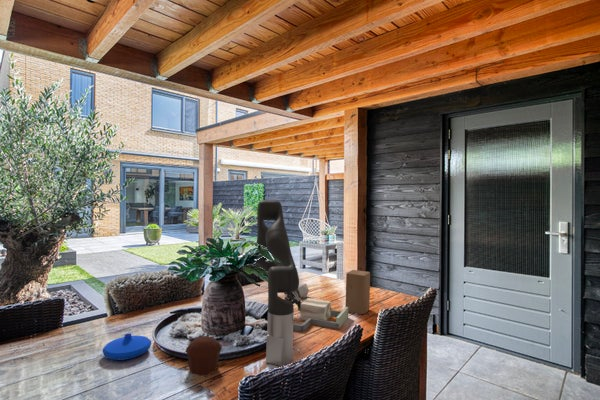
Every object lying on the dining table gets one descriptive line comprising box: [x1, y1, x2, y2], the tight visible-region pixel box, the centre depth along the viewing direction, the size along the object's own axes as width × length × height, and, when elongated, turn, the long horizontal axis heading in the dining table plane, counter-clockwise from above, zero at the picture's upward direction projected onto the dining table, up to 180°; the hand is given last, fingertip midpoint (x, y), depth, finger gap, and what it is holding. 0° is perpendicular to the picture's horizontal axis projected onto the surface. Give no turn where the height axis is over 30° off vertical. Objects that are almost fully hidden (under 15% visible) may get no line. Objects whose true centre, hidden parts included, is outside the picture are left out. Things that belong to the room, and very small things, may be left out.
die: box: [298, 282, 310, 299], centre depth 194 cm, size 8×9×10 cm
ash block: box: [299, 297, 332, 321], centre depth 162 cm, size 10×12×8 cm
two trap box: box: [293, 298, 349, 333], centre depth 161 cm, size 36×26×5 cm
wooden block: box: [344, 269, 371, 315], centre depth 173 cm, size 10×10×20 cm
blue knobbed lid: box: [102, 333, 152, 361], centre depth 120 cm, size 16×16×7 cm
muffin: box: [185, 335, 223, 376], centre depth 112 cm, size 12×11×10 cm
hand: (302, 308), depth 164 cm, fingers closed
